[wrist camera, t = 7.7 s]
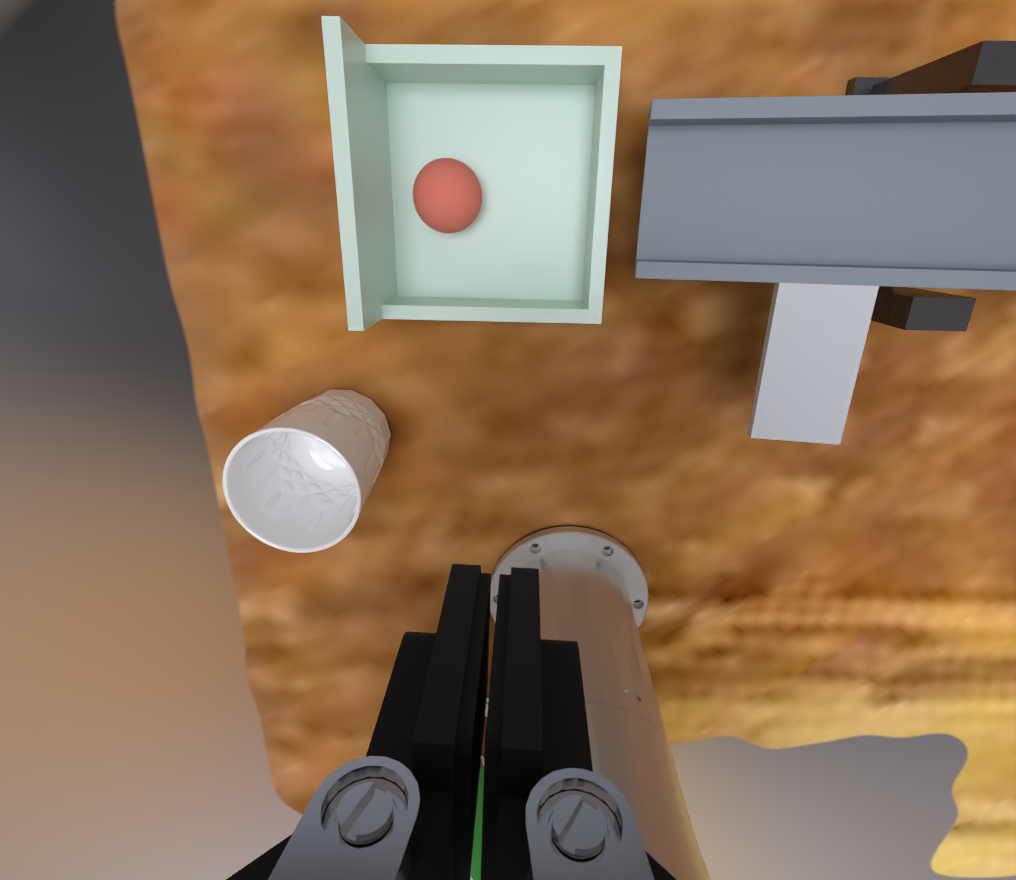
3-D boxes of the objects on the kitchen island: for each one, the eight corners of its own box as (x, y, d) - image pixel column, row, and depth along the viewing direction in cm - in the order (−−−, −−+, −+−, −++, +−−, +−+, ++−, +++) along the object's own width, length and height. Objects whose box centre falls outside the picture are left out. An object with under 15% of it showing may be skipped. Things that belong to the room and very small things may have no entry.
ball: (505, 211, 33) (464, 208, 30) (459, 245, 35) (416, 246, 32) (478, 146, 33) (433, 138, 29) (433, 185, 35) (387, 181, 32)
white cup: (270, 422, 41) (193, 480, 32) (347, 357, 39) (290, 399, 30) (344, 499, 43) (292, 575, 34) (421, 442, 41) (389, 506, 32)
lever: (1174, 438, 31) (1281, 479, 26) (621, 400, 36) (621, 429, 31) (1332, 110, 25) (1508, 81, 20) (647, 119, 30) (652, 98, 25)
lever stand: (879, 313, 36) (983, 339, 28) (801, 311, 37) (882, 337, 28) (937, 81, 32) (1084, 30, 23) (848, 80, 32) (962, 29, 24)
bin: (592, 311, 37) (610, 336, 29) (389, 307, 37) (348, 330, 29) (608, 72, 32) (636, 17, 24) (375, 69, 33) (321, 16, 24)
